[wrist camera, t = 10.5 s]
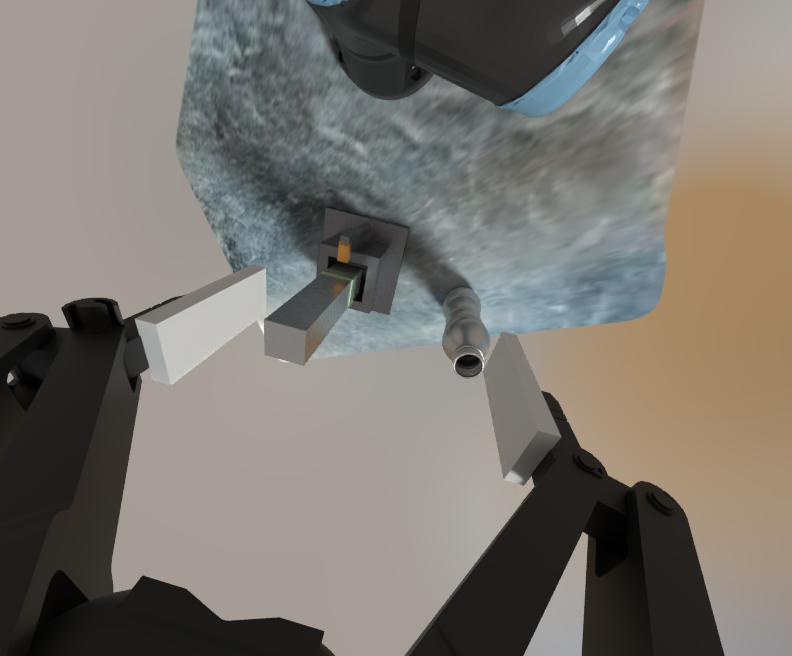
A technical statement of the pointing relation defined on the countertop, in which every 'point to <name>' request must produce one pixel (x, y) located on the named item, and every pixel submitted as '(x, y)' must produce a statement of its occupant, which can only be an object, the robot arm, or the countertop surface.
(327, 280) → the column
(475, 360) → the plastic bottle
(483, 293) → the countertop surface
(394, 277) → the stand
